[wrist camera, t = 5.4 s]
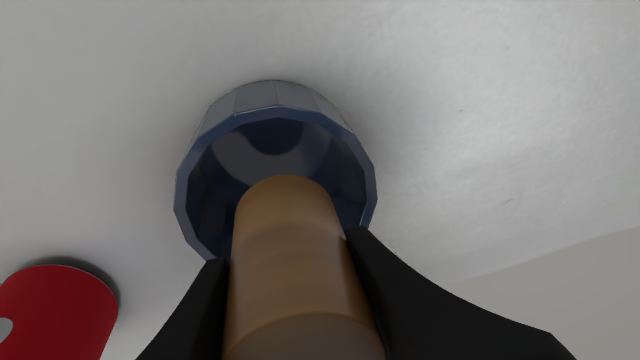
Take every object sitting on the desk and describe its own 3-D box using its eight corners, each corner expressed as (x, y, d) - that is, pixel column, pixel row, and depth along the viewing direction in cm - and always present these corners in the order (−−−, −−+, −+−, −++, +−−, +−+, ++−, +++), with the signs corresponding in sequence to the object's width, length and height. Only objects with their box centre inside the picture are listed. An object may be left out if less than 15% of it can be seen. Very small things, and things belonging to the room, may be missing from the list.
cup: (359, 208, 23) (384, 260, 18) (218, 239, 22) (209, 300, 18) (340, 65, 19) (366, 86, 14) (169, 98, 18) (141, 131, 14)
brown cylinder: (340, 247, 16) (393, 405, 10) (248, 268, 16) (243, 443, 10) (326, 163, 14) (380, 294, 8) (222, 185, 14) (195, 337, 8)
